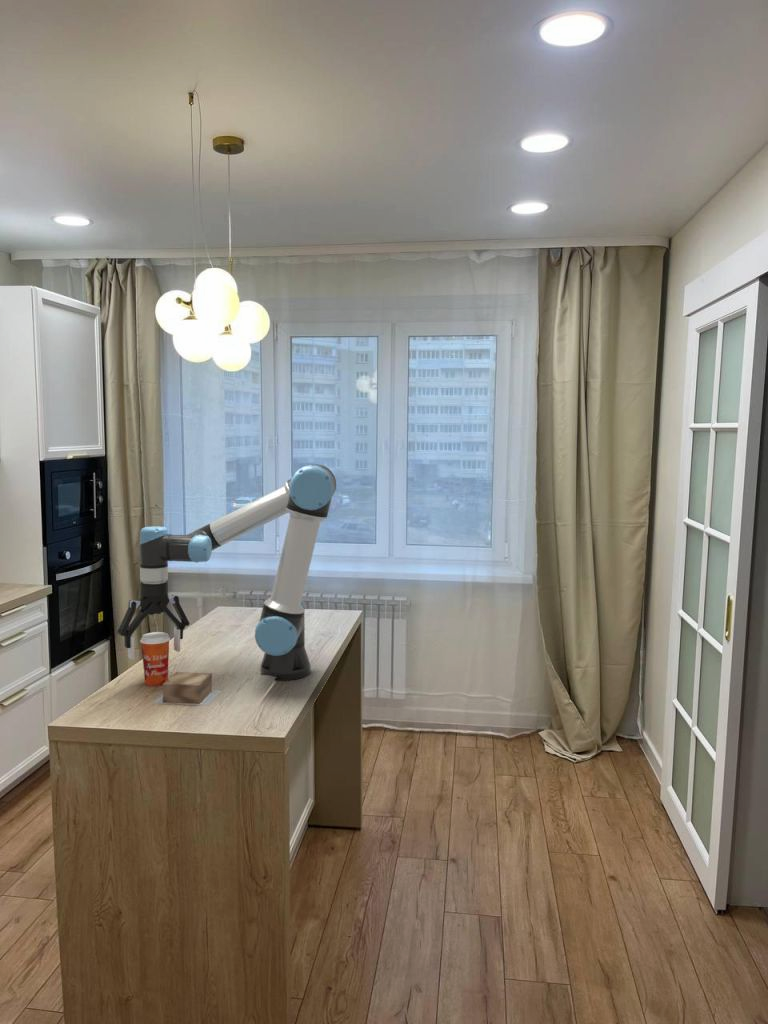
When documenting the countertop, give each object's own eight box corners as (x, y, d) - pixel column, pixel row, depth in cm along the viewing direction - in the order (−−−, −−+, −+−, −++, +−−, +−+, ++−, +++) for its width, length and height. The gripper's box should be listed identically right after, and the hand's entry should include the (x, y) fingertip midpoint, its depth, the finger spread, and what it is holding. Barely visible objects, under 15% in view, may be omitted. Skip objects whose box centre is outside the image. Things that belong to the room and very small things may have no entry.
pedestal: (211, 690, 202) (211, 673, 201) (199, 703, 192) (199, 685, 191) (176, 689, 202) (176, 671, 202) (162, 702, 192) (162, 683, 192)
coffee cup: (140, 692, 204) (139, 640, 202) (142, 682, 211) (140, 632, 210) (171, 689, 206) (170, 638, 204) (172, 680, 214) (171, 630, 212)
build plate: (221, 694, 202) (221, 690, 202) (208, 709, 191) (208, 705, 191) (168, 692, 203) (168, 688, 203) (153, 707, 192) (152, 703, 192)
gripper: (189, 574, 216) (189, 644, 219) (104, 583, 200) (105, 659, 202) (200, 578, 211) (200, 650, 213) (114, 588, 195) (115, 665, 197)
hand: (154, 654), depth 208 cm, fingers open, 13 cm apart
